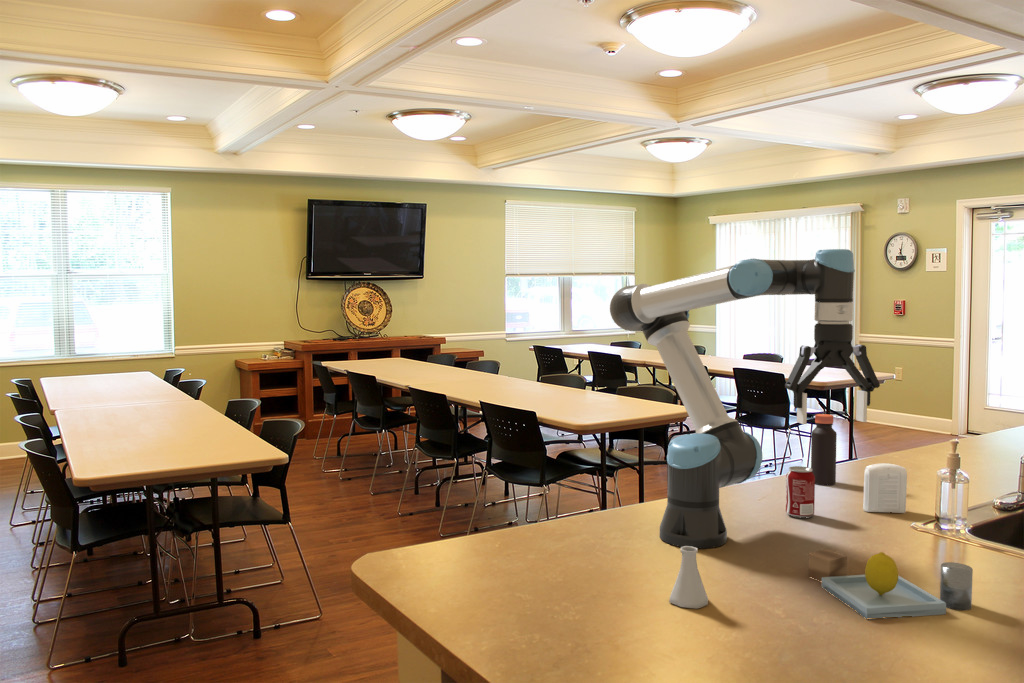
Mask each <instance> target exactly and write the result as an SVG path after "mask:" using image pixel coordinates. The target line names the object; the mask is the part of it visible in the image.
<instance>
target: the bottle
mask: <svg viewBox="0 0 1024 683" xmlns="http://www.w3.org/2000/svg"><path fill="white" fill-rule="evenodd" d="M814 423H815V425H816V426H815V427H814V429H813V430H812V431H811V439H810V440H811V442H810V443H811V444H810V445H811V448H810V449H811V450H810V455H811V456H810V468H811V469H812V473H813V474H814V476H815V485H819V486H833V485H836V481H837V480H836V479H837V431H835V430H834V428H833V425H834V415H833V414H826V413H817V414H815V418H814Z"/></svg>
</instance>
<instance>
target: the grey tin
mask: <svg viewBox="0 0 1024 683" xmlns="http://www.w3.org/2000/svg"><path fill="white" fill-rule="evenodd" d="M973 573H974V571H973V567H971V566H970V565H967V564H964V563H959V562H954V561H953V562H952V561H951V562H950V561H948V562H943V563H941V564H940V585H939V591H940V592H939V599H940V600H942V601H944V602H945V603H946V609H950V610H956V611H970V610H971V609H972V605H973V603H972V602H973V601H972V600H973V598H972V597H973Z"/></svg>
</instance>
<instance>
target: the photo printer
mask: <svg viewBox="0 0 1024 683" xmlns="http://www.w3.org/2000/svg"><path fill="white" fill-rule="evenodd" d="M863 474H864V475H863V476H864V477H863V505H862V510H863V511H864V512H867V513H890V512H892V513H895V514H896V513H898V514H906V511H907V510H906V509H907V489H908V488H907V483H908V480H907V479H908V473H907V469H906V467H904V466H902V465H898V464H893V463H888V462H887V463H883V462H882V463H873V464H870V465H866V466H865V468H864V473H863Z"/></svg>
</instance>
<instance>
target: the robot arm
mask: <svg viewBox="0 0 1024 683" xmlns="http://www.w3.org/2000/svg"><path fill="white" fill-rule="evenodd" d="M854 259H855V258H854V253H853V251H852V250H850V249H847V248H844V249H843V248H836V249H834V248H833V249H832V248H829V249H828V248H827V249H819V250H817V251H816V252H815V257H814V258H813V259H796V260H795V259H794V260H793V259H792V260H791V259H790V260H788V259H787V260H786V259H761V258H760V259H759V258H748V259H742V260H739V261H737V262H736V263H735V264H734V265H729V266H726V267H722V268H721V267H720V268H718V269H714V270H713V269H712V270H709V271H705V272H701V273H697V274H694V275H690V276H689V275H688V276H685V277H682V278H678V279H673V280H669V281H666V282H661V283H658V284H653V285H650V284H647V283H639V284H636V285H628V286H627V285H626V286H624V287H621V288H619V290H617V291H615V293H614V294H613V296H612V298H611V301H610V305H609V313H610V316H611V319H612V321H613V323H615V325H617V326H618V327H619V328H621V329H623V330H625V331H629V332H642V334H643V336H644V337H645V339H646V341H647V343H648V344H649V345H650V346H654V347H656V349H657V351H658V353H659V355H660V357H661V359H662V362H663V364H664V367H665V369H666V370H667V373H668V376H670V379H671V381H672V383H673V385H674V388H675V389H676V392H677V394H678V396H679V398H680V400H681V402H682V405H683V406H684V408H685V411H686V413H687V416H688V418H689V420H690V421H691V424H692V426H693V428H694V430H695V432H694V433H692V434H689V433H687V434H683V435H678V436H676V437H673V439H671V440H670V442H669V444H668V445H667V446H668V448H667V455H666V461H667V462H666V465H667V468H666V470H667V473H666V474H667V476H666V479H667V480H666V481H667V485H666V486H667V488H666V489H667V491H666V492H667V493H666V494H667V495H666V496H667V502H666V507H665V510H664V513H663V516H662V519H661V522H660V525H659V538H660V540H662V541H663V542H665V543H666V544H669V545H672V546H675V547H680V548H681V547H684V546H692V547H695V548H698V549H711V548H717V547H720V546H722V545H724V544H726V543H727V541H728V531H727V527H726V523H725V521H724V517H723V514H722V511H721V507H720V489H721V488H724V487H728V486H731V485H736V484H737V485H738V484H742V483H744V482H746V481H747V480H750V479H752V478H753V477H755V476H756V475H757V474H758V472H759V471H760V469H761V465H762V464H763V463H762V462H763V450H762V447H761V445H760V444H761V443H760V442H759V440H758V439H757V438H756V437H755V436H754V435H753V434H750V433H749V432H746V431H744V430H743V428H742V427H741V424H740V423H739V420H737V419H735V418H733V417H730V416H729V415H728V413H727V411H726V409H725V407H724V404H723V402H722V400H721V398H720V396H719V394H718V393H717V391H716V388H715V386H714V384H713V382H712V380H711V378H710V375H709V374H708V371H707V369H706V367H705V365H704V364H703V362H702V359H701V358H700V356H699V353H698V351H697V349H696V347H695V345H694V343H693V341H692V339H691V337H690V334H689V333H688V331H689V328H690V326H691V324H690V321H689V318H690V313H689V312H690V311H693V310H697V309H700V308H705V307H710V306H711V307H712V306H715V305H720V304H724V303H729V302H733V301H734V302H735V301H738V300H744V299H750V298H755V297H759V296H775V295H776V296H786V295H789V296H790V295H814V321H816V322H817V323H815V325H814V331H813V332H814V334H813V337H814V338H813V340H814V346H812V347H811V346H809V345H801V346H800V347H799V352H798V358H797V360H796V362H795V364H794V366H792V369H791V372H790V373H789V376H788V378H787V380H786V382H785V384H784V388H785V389H786V390H789V391H792V393H793V407H794V408H796V422H797V423H799V424H802V425H807V421H808V420H807V417H808V416H807V415H808V412H807V410H808V407H807V406H808V402H807V401H808V393H807V392H806V393H805V392H804V391H805V390H806V389H807V388H808V387H809V385H810V384H811V383H812V382H813V380H814V379H815V378H816V377H817V375H818V374H819V373H820V372H821V370H824V368H825V367H827V368H833V367H839V368H841V367H842V368H844V369H845V371H846V372H847V373H848V374H849V376H850V377H851V379H852V380H853V381H854V382H855V383H856V385H857V386H858V387H859V388H860V389H858V390H857V389H856V406H855V407H856V408H855V409H856V411H855V413H856V414H855V420H856V421H858V422H862V423H867V422H868V419H867V417H868V416H867V414H868V407H869V406H871V392H874V390H875V389H878V388H880V386H881V385H880V382H879V379H878V377H877V375H876V372H875V371H874V368H873V366H872V364H871V362H870V359H869V358H868V354H867V346H866V345H865V344H855V345H852V342H853V337H854V336H853V332H854V331H853V329H854V327H853V325H852V324H853V323H851V322H853V319H854V314H853V312H854V311H853V310H854V277H855V271H856V270H855V264H854V261H855V260H854ZM852 354H853V355H854V356H855V358H856V361H857V364H858V366H859V368H860V370H861V371H860V370H859V368H857V367H856V364H855V363H854V361H853V360H852V358H851V355H852ZM813 355H814V357H815V358H814V359H813V360H812V361H811V364H810V366H809V367H808V368H807V369H806V367H807V365H808V363H809V362H810V358H811V357H812V356H813ZM805 370H806V371H805ZM861 372H862V373H861Z"/></svg>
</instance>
